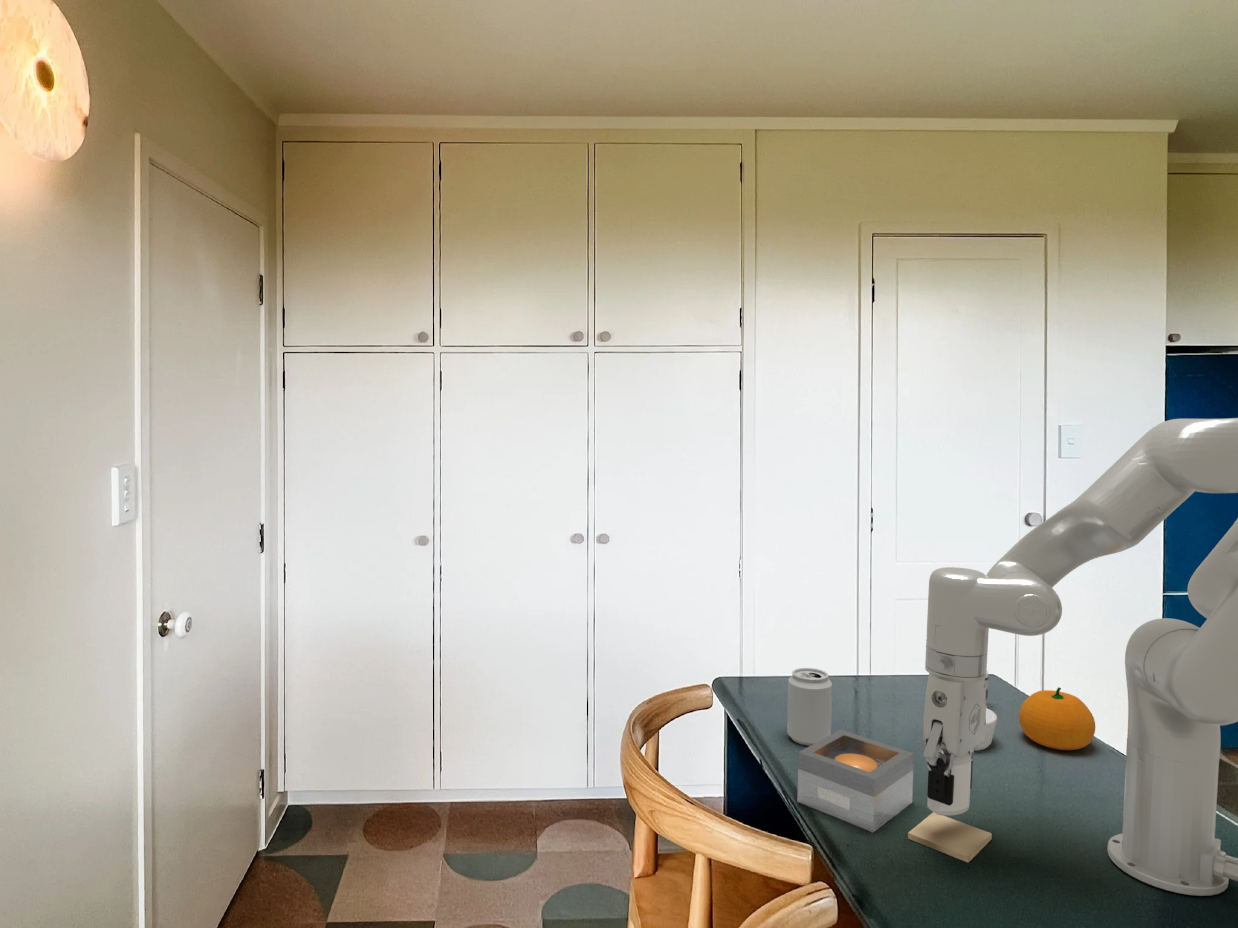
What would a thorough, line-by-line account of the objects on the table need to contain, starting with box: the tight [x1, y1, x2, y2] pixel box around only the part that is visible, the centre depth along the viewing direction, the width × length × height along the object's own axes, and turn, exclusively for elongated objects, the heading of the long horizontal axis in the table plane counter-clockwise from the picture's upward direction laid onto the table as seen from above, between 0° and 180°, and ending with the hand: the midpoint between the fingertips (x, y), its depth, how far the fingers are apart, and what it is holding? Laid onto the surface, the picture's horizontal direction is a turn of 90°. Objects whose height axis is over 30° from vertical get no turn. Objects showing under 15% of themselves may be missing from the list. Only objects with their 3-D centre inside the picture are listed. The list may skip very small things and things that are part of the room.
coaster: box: [907, 811, 993, 863], centre depth 106 cm, size 8×8×1 cm
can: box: [786, 667, 833, 747], centre depth 138 cm, size 8×8×12 cm
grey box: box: [797, 729, 915, 833], centre depth 116 cm, size 12×12×8 cm
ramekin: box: [974, 707, 998, 752], centre depth 138 cm, size 11×11×5 cm
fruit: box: [1018, 686, 1096, 751], centre depth 138 cm, size 12×12×10 cm
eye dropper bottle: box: [926, 744, 972, 817], centre depth 106 cm, size 4×6×12 cm
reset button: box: [835, 753, 877, 772], centre depth 116 cm, size 6×6×6 cm
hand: (949, 792), depth 106 cm, fingers closed on eye dropper bottle, 5 cm apart
